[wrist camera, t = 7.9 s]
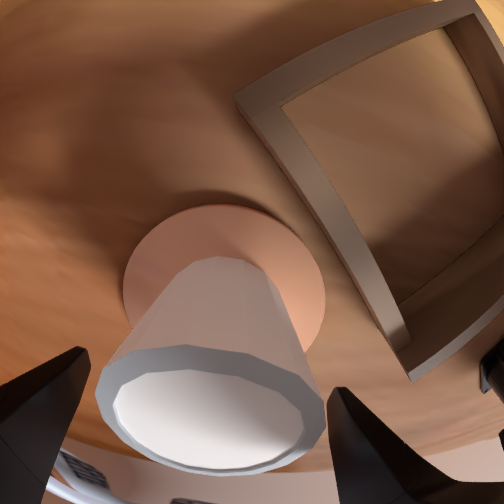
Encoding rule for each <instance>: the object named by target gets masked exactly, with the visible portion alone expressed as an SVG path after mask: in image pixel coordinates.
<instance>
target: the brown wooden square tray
mask: <svg viewBox="0 0 504 504" xmlns="http://www.w3.org/2000/svg"><path fill="white" fill-rule="evenodd" d="M441 27H443V28H444V29H445V30H446V32H447V34H448V35H449V37H450V38H451V40H452V41H453V43H454V45H455V46H456V48H457V49H458V51H459V53H460V55H461V56H462V58H463V60H464V62H465V63H466V65H467V67H468V69H469V71H470V73H471V75H472V77H473V79H474V80H475V83H476V85H477V87H478V89H479V91H480V93H481V95H482V97H483V100H484V102H485V104H486V106H487V109H488V111H489V114H490V116H491V119H492V121H493V124H494V127H495V129H496V132H497V135H498V138H499V141H500V144H501V147H502V150H503V153H504V47H503V45H502V43H501V41H500V39H499V37H498V36H497V34H496V32H495V30H494V29H493V27H492V25H491V24H490V22H489V21H488V19H487V17H486V16H485V14H484V13H483V11H482V10H481V8H480V7H479V5H478V4H477V3H476V1H475V0H442V1H438V2H434V3H430V4H426V5H422V6H419V7H415V8H412V9H409V10H405V11H402V12H399V13H396V14H393V15H390V16H387V17H385V18H382V19H379V20H376V21H374V22H371V23H369V24H366V25H364V26H361V27H359V28H356V29H354V30H352V31H349V32H347V33H345V34H342V35H340V36H338V37H336V38H334V39H331V40H329V41H327V42H325V43H323V44H321V45H319V46H317V47H315V48H313V49H311V50H309V51H307V52H305V53H303V54H301V55H299V56H298V57H296V58H294V59H292V60H290V61H288V62H287V63H285V64H283V65H281V66H280V67H278V68H276V69H274V70H273V71H271V72H269V73H268V74H266V75H264V76H263V77H261V78H259V79H258V80H256V81H254V82H253V83H251V84H250V85H248V86H247V87H245V88H243V89H242V90H240V91H239V92H237V93H236V94H234V95H233V97H234V101H235V104H236V108H237V110H238V111H239V112H240V113H241V115H242V116H243V117H244V119H245V120H246V121H247V123H248V124H249V125H250V127H251V128H252V129H253V131H254V132H255V133H256V135H257V136H258V137H259V139H260V140H261V141H262V143H263V144H264V146H265V147H266V148H267V150H268V151H269V152H270V154H271V155H272V157H273V158H274V159H275V161H276V162H277V164H278V165H279V167H280V168H281V169H282V171H283V172H284V174H285V175H286V177H287V178H288V180H289V181H290V182H291V184H292V185H293V187H294V188H295V190H296V191H297V193H298V194H299V196H300V197H301V199H302V200H303V202H304V203H305V205H306V206H307V208H308V209H309V211H310V213H311V214H312V216H313V217H314V219H315V220H316V222H317V223H318V225H319V227H320V228H321V230H322V231H323V233H324V234H325V236H326V238H327V239H328V241H329V242H330V244H331V246H332V247H333V249H334V251H335V252H336V254H337V256H338V257H339V259H340V261H341V262H342V264H343V266H344V267H345V269H346V271H347V272H348V274H349V276H350V277H351V279H352V281H353V283H354V284H355V286H356V288H357V290H358V291H359V293H360V295H361V297H362V298H363V300H364V302H365V304H366V306H367V307H368V309H369V311H370V313H371V315H372V317H373V318H374V320H375V322H376V324H377V326H378V328H379V330H380V332H381V333H382V335H383V336H384V338H385V339H386V341H387V343H388V344H389V346H390V347H391V349H392V351H393V352H394V354H395V356H396V357H397V359H398V360H399V362H400V364H401V365H402V367H403V369H404V370H405V372H406V374H407V375H408V377H409V379H410V381H411V382H412V383H414V382H415V381H417V380H418V379H420V378H421V377H422V376H424V375H425V374H427V373H428V372H430V371H431V370H432V369H434V368H435V367H437V366H438V365H439V364H441V363H442V362H443V361H445V360H446V359H447V358H449V357H450V356H451V355H452V354H454V353H455V352H456V351H457V350H459V349H460V348H461V347H462V346H464V345H465V344H466V343H467V342H468V341H470V340H471V339H472V338H473V337H474V336H475V335H477V334H478V333H479V332H480V331H481V330H482V329H483V328H484V327H485V326H487V325H488V324H489V323H490V322H491V321H492V320H493V319H494V318H495V317H496V316H497V315H498V314H499V313H500V312H501V311H502V310H503V309H504V216H503V217H502V218H501V219H500V220H499V221H498V222H497V223H496V224H495V225H494V226H493V227H492V228H491V229H490V230H489V231H488V232H487V233H486V234H485V235H484V236H482V237H481V238H480V239H479V240H478V241H477V242H476V243H475V244H474V245H473V246H472V247H470V248H469V249H468V250H467V251H466V252H465V253H464V254H462V255H461V256H460V257H459V258H458V259H457V260H455V261H454V262H453V263H452V264H451V265H450V266H448V267H447V268H446V269H445V270H443V271H442V272H441V273H440V274H438V275H437V276H436V277H435V278H433V279H432V280H431V281H430V282H428V283H427V284H426V285H424V286H423V287H422V288H421V289H419V290H418V291H417V292H415V293H414V294H412V295H411V296H410V297H408V298H407V299H406V300H404V301H403V302H401V303H400V304H399V305H396V303H395V300H394V298H393V296H392V294H391V292H390V290H389V288H388V285H387V283H386V281H385V279H384V277H383V275H382V273H381V271H380V269H379V267H378V265H377V263H376V261H375V259H374V257H373V255H372V253H371V251H370V250H369V248H368V246H367V244H366V242H365V240H364V238H363V236H362V235H361V233H360V231H359V229H358V227H357V225H356V224H355V222H354V220H353V218H352V217H351V215H350V213H349V211H348V210H347V208H346V206H345V205H344V203H343V201H342V199H341V198H340V196H339V194H338V193H337V191H336V189H335V188H334V186H333V185H332V183H331V181H330V180H329V178H328V177H327V175H326V173H325V172H324V170H323V169H322V167H321V166H320V164H319V162H318V161H317V159H316V158H315V156H314V155H313V153H312V152H311V150H310V149H309V147H308V146H307V144H306V143H305V141H304V140H303V139H302V137H301V136H300V134H299V133H298V131H297V130H296V129H295V127H294V126H293V124H292V123H291V122H290V120H289V119H288V117H287V116H286V115H285V113H284V112H283V111H282V109H281V108H280V107H281V106H283V105H285V104H286V103H288V102H289V101H291V100H293V99H294V98H296V97H298V96H299V95H301V94H303V93H304V92H306V91H308V90H309V89H311V88H313V87H315V86H316V85H318V84H320V83H322V82H324V81H325V80H327V79H329V78H331V77H333V76H334V75H336V74H338V73H340V72H342V71H344V70H346V69H348V68H350V67H352V66H353V65H355V64H357V63H359V62H361V61H363V60H365V59H368V58H370V57H372V56H374V55H376V54H378V53H380V52H382V51H384V50H387V49H389V48H391V47H393V46H396V45H398V44H400V43H403V42H405V41H407V40H410V39H412V38H415V37H417V36H420V35H422V34H425V33H427V32H430V31H433V30H435V29H438V28H441Z"/></svg>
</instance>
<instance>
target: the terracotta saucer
mask: <svg viewBox="0 0 504 504" xmlns="http://www.w3.org/2000/svg"><path fill="white" fill-rule="evenodd" d="M216 256H222V257H229V258H235V259H242V260H245V261H247V262H248V263H250V264H252V265H254V266H255V267H257V268H259V269H261V270H262V271H264V272H265V273H266V274H267V275H268V277H269V278H270V279H271V281H272V282H273V283H274V284H275V286H276V287H277V288H278V290H279V292H280V294H281V297H282V299H283V302H284V304H285V307H286V309H287V312H288V314H289V317H290V319H291V321H292V324H293V326H294V329H295V331H296V334H297V336H298V339H299V341H300V344H301V346H302V349H303V351H304V353H305V351H306V350H307V349H308V348H309V347H310V345H311V344H312V342H313V341H314V339H315V337H316V336H317V334H318V331H319V329H320V327H321V324H322V321H323V317H324V312H325V303H326V300H325V288H324V283H323V278H322V275H321V273H320V270H319V267H318V265H317V263H316V262H315V260H314V258H313V256H312V254H311V253H310V251H309V249H308V248H307V246H306V245H305V244H304V243H303V241H302V240H301V239H300V238H299V237H298V236H297V235H296V234H295V233H294V232H293V231H292V230H291V229H290V228H289V227H287V226H286V225H285V224H283V223H282V222H280V221H279V220H277V219H276V218H274V217H272V216H270V215H268V214H266V213H264V212H261V211H258V210H256V209H253V208H249V207H245V206H240V205H233V204H206V205H201V206H196V207H192V208H189V209H186V210H183V211H180V212H178V213H176V214H174V215H172V216H170V217H168V218H167V219H165V220H164V221H162V222H161V223H160V224H158V225H157V226H156V227H155V228H153V229H152V230H151V231H150V232H149V233H148V234H147V235H146V236H145V237H144V238H143V239H142V240H141V242H140V243H139V244H138V246H137V247H136V248H135V250H134V252H133V254H132V255H131V257H130V259H129V262H128V265H127V267H126V270H125V275H124V281H123V300H124V307H125V310H126V314H127V317H128V320H129V322H130V325H131V327H132V329H133V328H134V327H135V326H136V325H137V323H138V322H139V321H140V319H141V318H142V317H143V316H144V314H145V313H146V312H147V310H148V309H149V308H150V307H151V305H152V304H153V303H154V302H155V300H156V299H157V298H158V297H159V295H160V294H161V293H162V292H163V290H164V289H165V288H166V287H167V286H168V284H169V283H170V282H171V281H172V279H173V278H174V277H175V276H176V275H177V274H178V273H179V272H181V271H182V270H183V269H185V268H186V267H187V266H189V265H190V264H192V263H193V262H194V261H198V260H203V259H207V258H211V257H216Z"/></svg>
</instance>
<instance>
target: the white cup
mask: <svg viewBox="0 0 504 504" xmlns="http://www.w3.org/2000/svg"><path fill="white" fill-rule="evenodd" d="M95 397H96V400H97V403H98V406H99V409H100V412H101V415H102V417H103V419H104V421H105V422H106V423H107V424H108V425H109V426H110V428H111V429H112V430H113V431H114V432H115V433H116V434H117V435H118V436H119V438H120V439H121V440H122V441H123V442H125V443H126V444H128V445H129V446H131V447H132V448H134V449H135V450H137V451H138V452H140V453H142V454H143V455H145V456H147V457H148V458H150V459H152V460H154V461H157V462H159V463H162V464H165V465H167V466H170V467H174V468H176V469H179V470H182V471H186V472H191V473H198V474H205V475H213V476H239V475H252V474H258V473H262V472H265V471H269V470H272V469H275V468H279V467H282V466H285V465H288V464H289V463H291V462H292V461H294V460H296V459H297V458H299V457H300V456H302V455H303V454H305V453H306V452H308V451H309V450H311V449H312V448H313V446H314V445H315V443H316V442H317V440H318V439H319V437H320V436H321V434H322V432H323V431H324V429H325V428H326V421H325V411H324V402H323V399H322V396H321V394H320V391H319V389H318V386H317V384H316V381H315V379H314V376H313V374H312V371H311V369H310V366H309V364H308V361H307V359H306V356H305V354H304V351H303V349H302V346H301V344H300V341H299V339H298V336H297V334H296V331H295V329H294V326H293V324H292V321H291V319H290V317H289V314H288V312H287V309H286V307H285V304H284V302H283V299H282V297H281V294H280V292H279V290H278V288H277V287H276V286H275V284H274V283H273V282H272V281H271V279H270V278H269V277H268V275H267V274H266V273H265V272H264V271H262V270H261V269H259V268H257V267H255V266H254V265H252V264H250V263H248V262H247V261H245V260H242V259H235V258H229V257H222V256H216V257H211V258H207V259H203V260H198V261H194V262H193V263H192V264H190V265H189V266H187V267H186V268H185V269H183V270H182V271H181V272H179V273H178V274H177V275H176V276H175V277H174V278H173V279H172V281H171V282H170V283H169V284H168V286H167V287H166V288H165V289H164V290H163V292H162V293H161V294H160V295H159V297H158V298H157V299H156V300H155V302H154V303H153V304H152V305H151V307H150V308H149V309H148V310H147V312H146V313H145V314H144V316H143V317H142V318H141V319H140V321H139V322H138V323H137V325H136V326H135V327H134V328H133V330H132V331H131V332H130V334H129V335H128V336H127V337H126V339H125V340H124V341H123V343H122V344H121V345H120V347H119V348H118V349H117V351H116V352H115V353H114V355H113V356H112V357H111V359H110V360H109V361H108V363H107V364H106V365H105V367H104V368H103V370H102V373H101V376H100V379H99V382H98V385H97V388H96V391H95Z"/></svg>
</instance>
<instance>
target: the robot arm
mask: <svg viewBox="0 0 504 504" xmlns="http://www.w3.org/2000/svg"><path fill="white" fill-rule="evenodd" d="M480 365H481V392H482V393H483V394H485V393H487V392H488V391H489V390H490V389H491V388H492V389H493V390H494V392H495V393H496V394H497V396H498V397H499V398H500V400H501V401H502V402H503V404H504V340H503V341H502V342H501V343H500V344H499V345H498V346H497V347H496V348H495V349H494V350H492V351H491V352H490V353H489V354H488V355H487V356H486V357H485V358H484V359H483V360H482V361H481V364H480ZM90 370H91V363H90V359H89V355H88V351H87V349H85V348H82V347H79V346H76V347H74V348H72V349H70V350H68V351H66V352H64V353H62V354H60V355H59V356H57V357H55V358H53V359H51V360H49V361H47V362H45V363H43V364H41V365H39V366H38V367H36V368H34V369H32V370H30V371H28V372H26V373H24V374H22V375H20V376H19V377H17V378H15V379H13V380H11V381H9V382H8V383H5V384H3V385H1V386H0V504H41V501H42V498H43V494H44V492H45V489H46V487H45V486H46V485H47V482H48V479H49V477H50V474H51V471H52V468H53V465H54V463H55V460H56V458H57V455H58V452H59V450H60V447H61V445H62V442H63V440H64V437H65V435H66V433H67V430H68V428H69V426H70V423H71V421H72V419H73V416H74V414H75V412H76V410H77V407H78V405H79V403H80V400H81V397H82V394H83V391H84V388H85V385H86V382H87V379H88V376H89V373H90ZM327 420H328V435H329V444H330V449H331V455H332V460H333V466H334V472H335V477H336V482H337V489H338V495H339V501H340V504H504V482H462V481H457V480H454V479H452V478H450V477H449V476H447V475H445V474H444V473H443V472H441V471H440V470H438V469H437V468H436V467H434V466H433V465H431V464H430V463H429V462H427V461H426V460H425V459H423V458H422V457H421V456H420V455H418V454H417V453H416V452H415V451H414V450H413V449H411V448H410V447H409V446H408V445H407V444H406V443H405V444H404V441H403V440H401V439H400V438H399V437H398V436H397V435H396V434H395V433H394V432H393V431H392V430H391V429H390V428H389V427H388V426H386V425H385V424H384V423H383V422H382V421H381V420H380V419H379V418H378V417H377V416H376V415H375V414H374V413H373V412H372V411H371V410H369V409H368V408H367V407H366V406H365V405H364V404H363V403H362V402H361V401H360V400H359V399H358V398H357V397H356V396H355V395H354V394H353V393H352V392H351V391H350V390H349V389H348V388H346V387H335V388H334V389H333V391H332V393H331V395H330V397H329V399H328V401H327ZM499 437H500V440H501V444H502V447H503V450H504V429H503V430H502V431H501V432H500V433H499Z"/></svg>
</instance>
